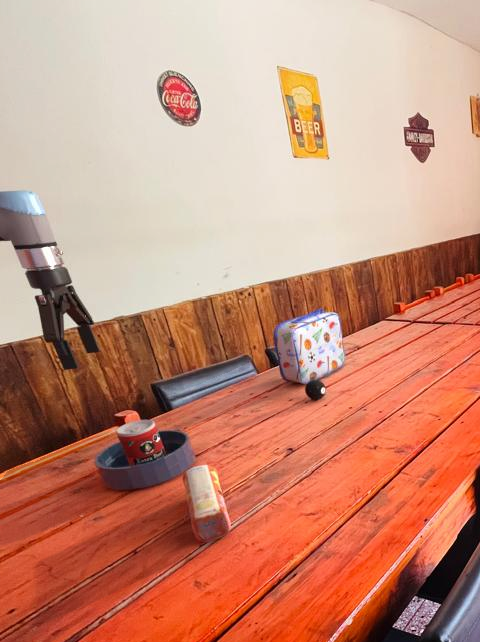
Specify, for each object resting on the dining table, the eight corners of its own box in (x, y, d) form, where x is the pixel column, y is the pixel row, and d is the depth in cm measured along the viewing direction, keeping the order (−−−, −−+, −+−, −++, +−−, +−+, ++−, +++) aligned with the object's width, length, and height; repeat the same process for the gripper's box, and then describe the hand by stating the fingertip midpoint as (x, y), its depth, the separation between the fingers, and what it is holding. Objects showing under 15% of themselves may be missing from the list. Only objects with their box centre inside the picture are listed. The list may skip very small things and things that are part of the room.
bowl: (83, 489, 116) (73, 466, 113) (149, 449, 133) (141, 428, 130) (155, 495, 112) (145, 471, 109) (213, 453, 129) (206, 431, 126)
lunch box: (329, 361, 192) (318, 302, 182) (352, 363, 189) (342, 303, 179) (279, 387, 169) (263, 321, 160) (305, 390, 166) (290, 323, 156)
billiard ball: (315, 394, 162) (311, 376, 159) (331, 396, 160) (327, 378, 157) (303, 401, 157) (299, 383, 154) (319, 403, 155) (315, 384, 152)
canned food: (139, 479, 117) (122, 437, 112) (128, 469, 122) (111, 428, 117) (174, 466, 122) (159, 424, 117) (162, 456, 127) (147, 416, 122)
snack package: (235, 535, 97) (225, 505, 94) (196, 548, 94) (185, 518, 91) (221, 486, 114) (213, 459, 111) (188, 496, 111) (179, 469, 108)
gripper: (38, 274, 103) (80, 374, 112) (86, 259, 124) (117, 344, 133) (-6, 278, 101) (41, 379, 110) (50, 262, 122) (85, 348, 132)
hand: (83, 360), depth 122 cm, fingers open, 13 cm apart
